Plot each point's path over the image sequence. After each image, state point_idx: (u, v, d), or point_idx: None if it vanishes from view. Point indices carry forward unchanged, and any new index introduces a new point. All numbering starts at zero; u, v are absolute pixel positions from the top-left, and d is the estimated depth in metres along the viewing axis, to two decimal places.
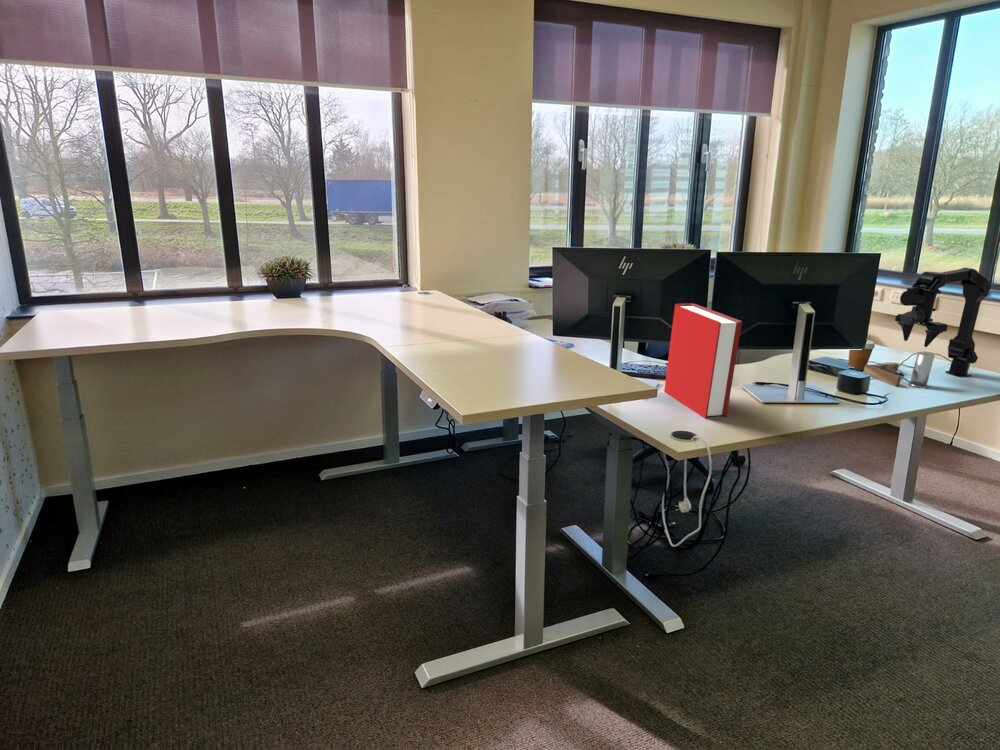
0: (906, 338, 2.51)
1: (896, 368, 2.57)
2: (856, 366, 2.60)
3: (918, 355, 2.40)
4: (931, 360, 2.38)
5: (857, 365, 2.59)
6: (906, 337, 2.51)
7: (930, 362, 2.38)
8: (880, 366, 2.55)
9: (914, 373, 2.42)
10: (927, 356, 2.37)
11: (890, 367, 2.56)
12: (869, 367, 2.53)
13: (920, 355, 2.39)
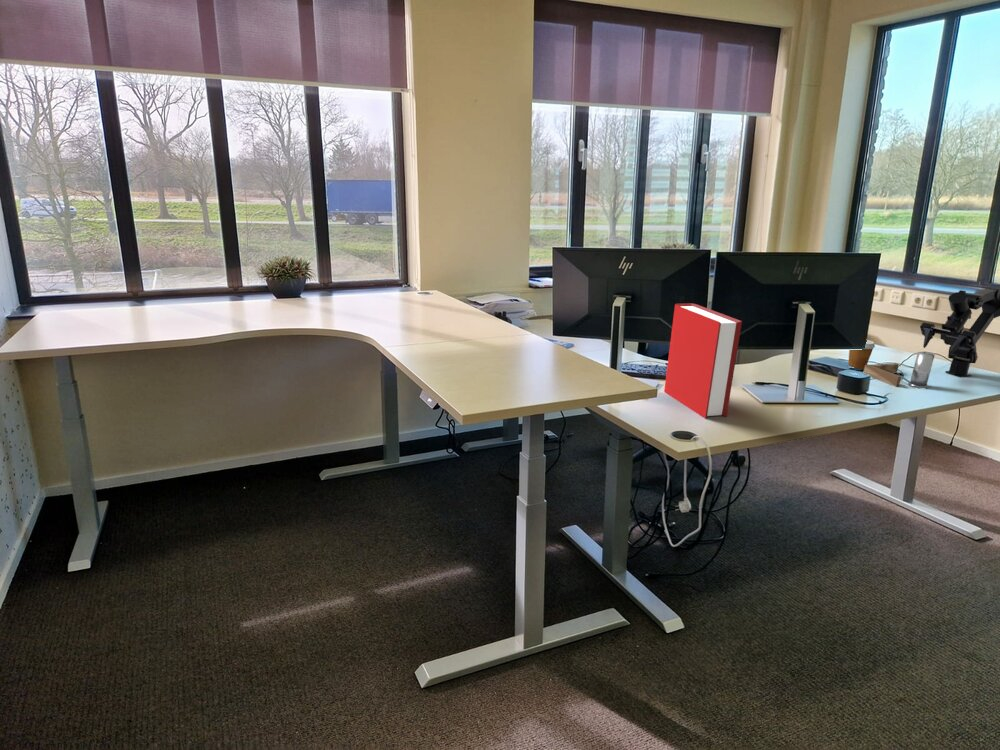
0: None
1: (896, 368, 2.57)
2: (856, 366, 2.60)
3: (918, 355, 2.40)
4: (931, 360, 2.38)
5: (857, 365, 2.59)
6: None
7: (930, 362, 2.38)
8: (880, 366, 2.55)
9: (914, 373, 2.42)
10: (927, 356, 2.37)
11: (890, 367, 2.56)
12: (869, 367, 2.53)
13: (920, 355, 2.39)
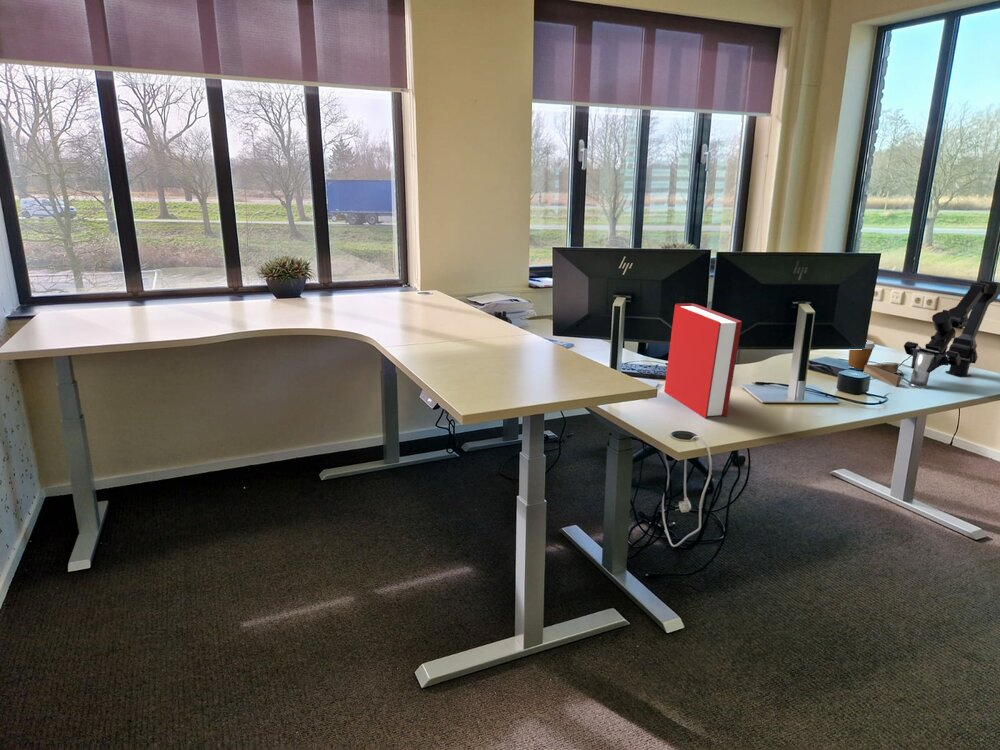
0: None
1: (896, 368, 2.57)
2: (856, 366, 2.60)
3: (918, 355, 2.40)
4: (931, 360, 2.38)
5: (857, 365, 2.59)
6: None
7: (930, 362, 2.38)
8: (880, 366, 2.55)
9: (914, 373, 2.42)
10: (927, 356, 2.37)
11: (890, 367, 2.56)
12: (869, 367, 2.53)
13: (920, 355, 2.39)
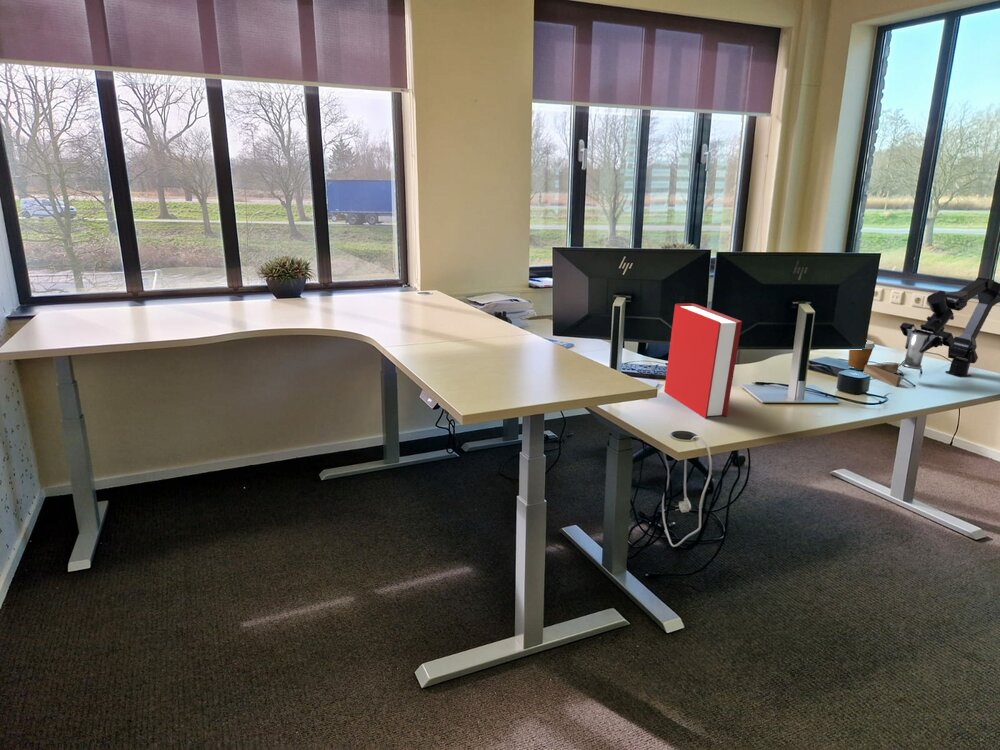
0: None
1: (896, 368, 2.57)
2: (856, 366, 2.60)
3: (911, 335, 2.41)
4: (924, 340, 2.39)
5: (857, 365, 2.59)
6: None
7: (923, 342, 2.39)
8: (880, 366, 2.55)
9: (907, 353, 2.43)
10: (920, 336, 2.38)
11: (890, 367, 2.56)
12: (869, 367, 2.53)
13: (913, 335, 2.40)
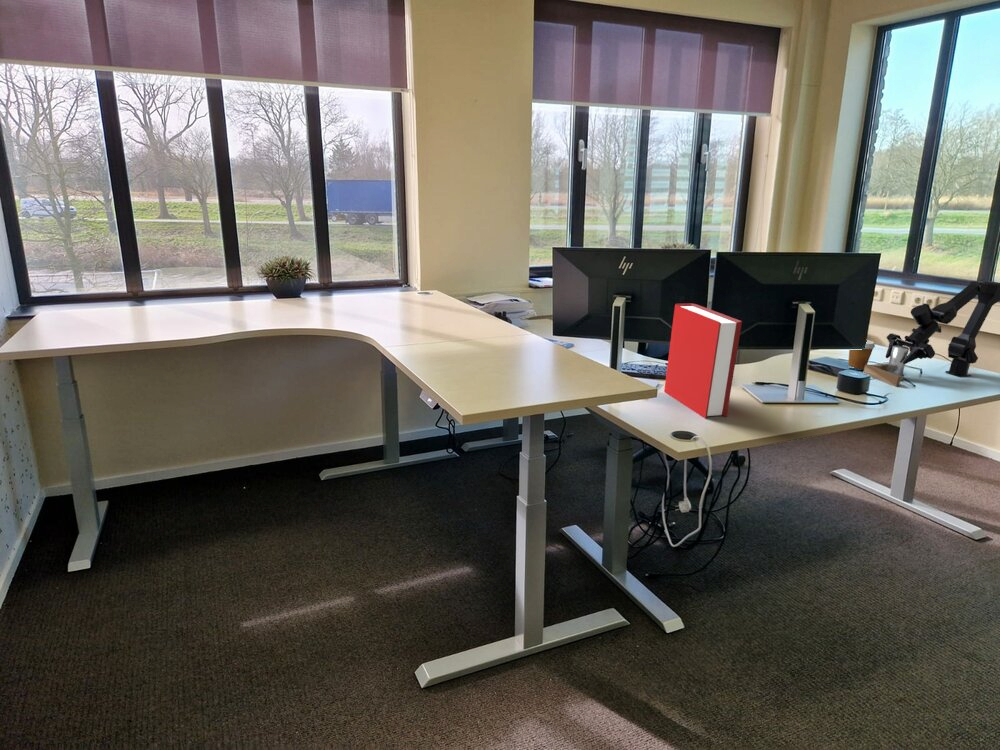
0: None
1: None
2: (856, 366, 2.60)
3: (892, 348, 2.49)
4: (904, 353, 2.46)
5: (857, 365, 2.59)
6: None
7: (903, 355, 2.46)
8: (880, 366, 2.55)
9: (888, 365, 2.51)
10: (899, 349, 2.46)
11: None
12: (869, 367, 2.53)
13: (893, 348, 2.48)
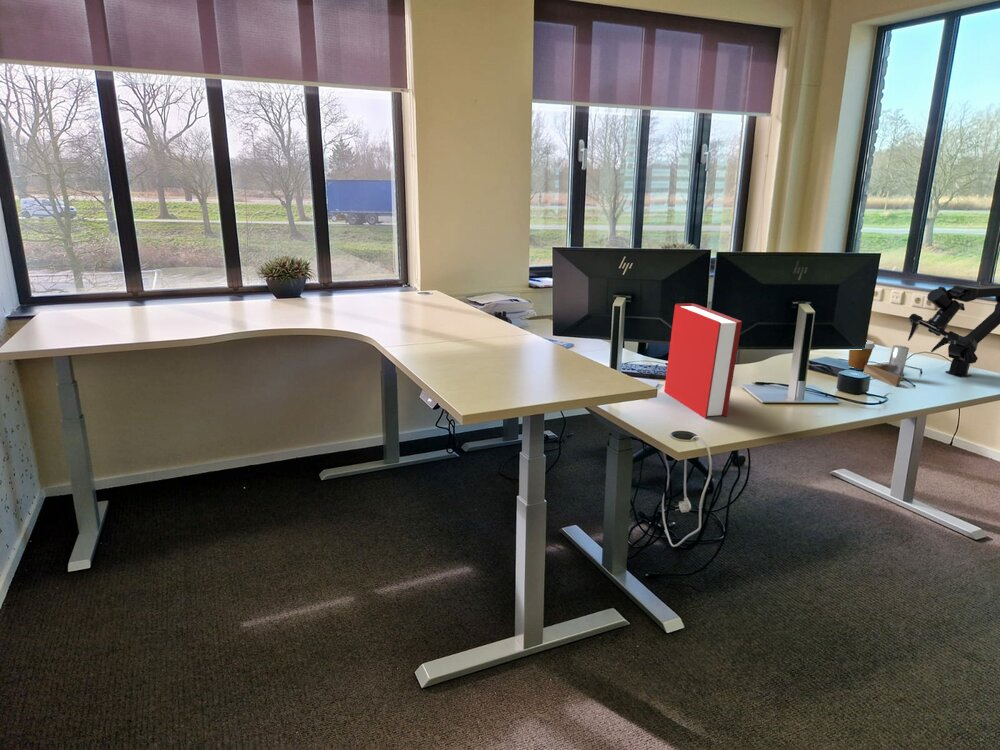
0: (932, 349, 2.50)
1: None
2: (856, 366, 2.60)
3: (892, 348, 2.49)
4: (904, 353, 2.46)
5: (857, 365, 2.59)
6: (933, 348, 2.50)
7: (903, 355, 2.46)
8: (880, 366, 2.55)
9: (888, 365, 2.51)
10: (899, 349, 2.46)
11: None
12: (869, 367, 2.53)
13: (893, 348, 2.48)
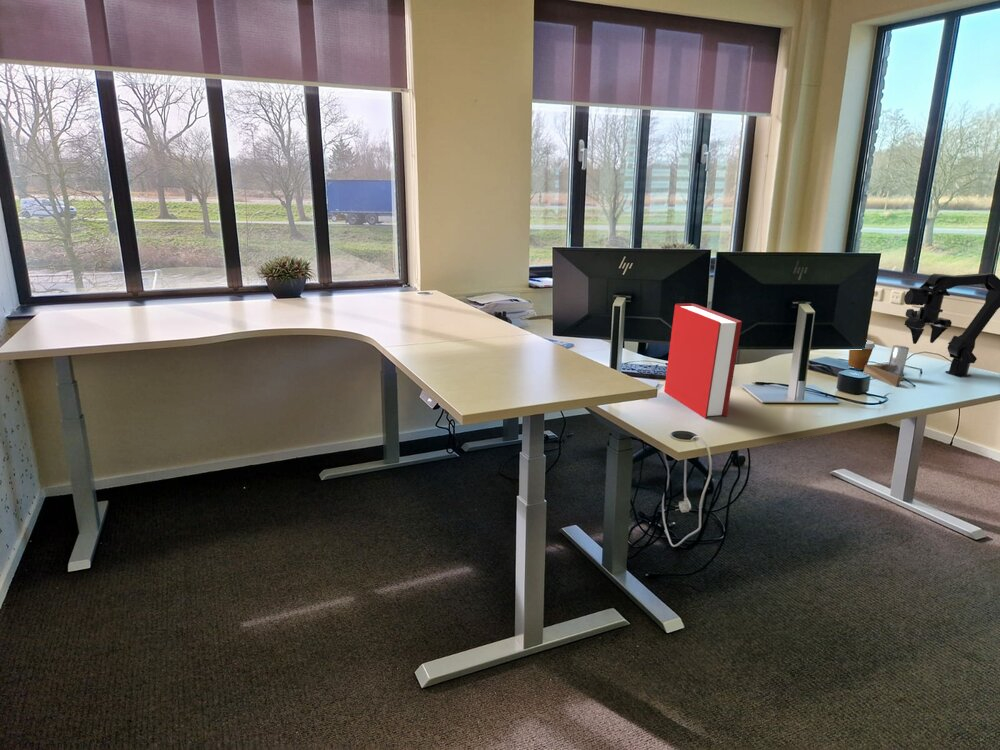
0: (931, 340, 2.58)
1: None
2: (856, 366, 2.60)
3: (892, 348, 2.49)
4: (904, 353, 2.46)
5: (857, 365, 2.59)
6: (931, 339, 2.58)
7: (903, 355, 2.46)
8: (880, 366, 2.55)
9: (888, 365, 2.51)
10: (899, 349, 2.46)
11: None
12: (869, 367, 2.53)
13: (893, 348, 2.48)
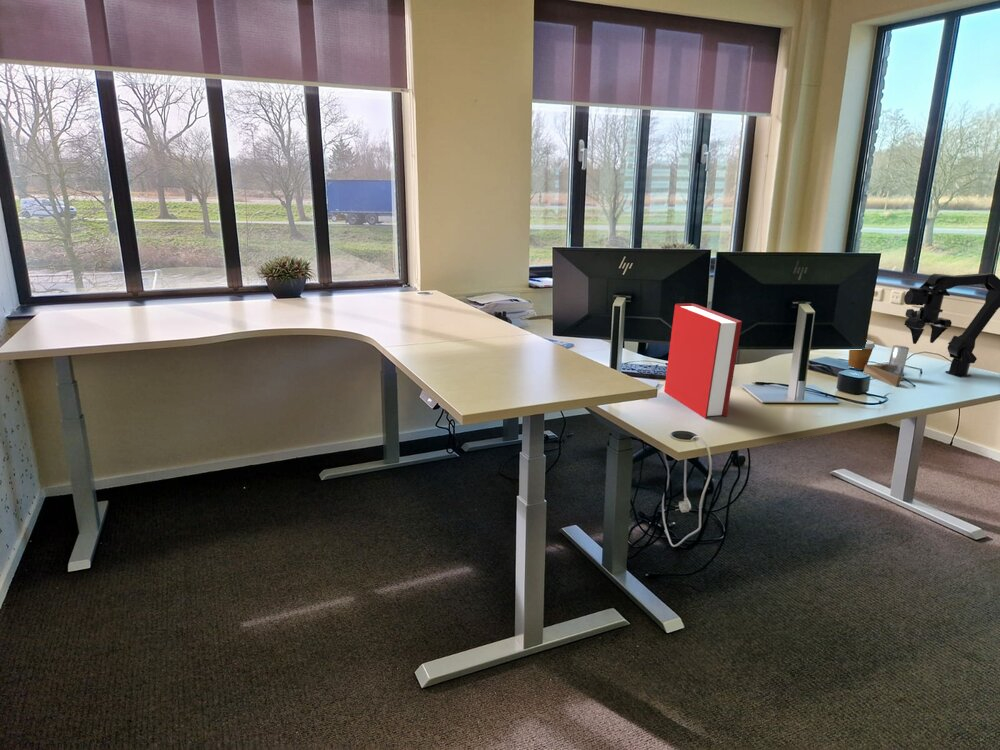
0: (931, 340, 2.58)
1: None
2: (856, 366, 2.60)
3: (892, 348, 2.49)
4: (904, 353, 2.46)
5: (857, 365, 2.59)
6: (931, 339, 2.58)
7: (903, 355, 2.46)
8: (880, 366, 2.55)
9: (888, 365, 2.51)
10: (899, 349, 2.46)
11: None
12: (869, 367, 2.53)
13: (893, 348, 2.48)
